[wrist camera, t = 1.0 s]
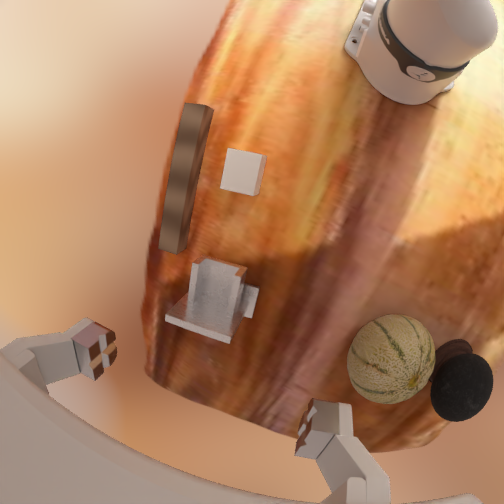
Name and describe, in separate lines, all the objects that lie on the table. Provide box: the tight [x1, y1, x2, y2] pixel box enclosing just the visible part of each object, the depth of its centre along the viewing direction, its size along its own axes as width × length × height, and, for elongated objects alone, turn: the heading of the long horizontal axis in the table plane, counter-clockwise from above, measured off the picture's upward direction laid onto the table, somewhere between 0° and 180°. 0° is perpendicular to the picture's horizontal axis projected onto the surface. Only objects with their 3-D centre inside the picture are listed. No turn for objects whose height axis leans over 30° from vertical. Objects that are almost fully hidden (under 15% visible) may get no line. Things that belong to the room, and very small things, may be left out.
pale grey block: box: [220, 148, 267, 196], centre depth 40 cm, size 6×5×4 cm
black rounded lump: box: [429, 339, 493, 422], centre depth 36 cm, size 13×13×15 cm
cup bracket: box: [165, 255, 260, 344], centre depth 43 cm, size 10×12×12 cm
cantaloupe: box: [347, 314, 435, 404], centre depth 38 cm, size 15×15×15 cm
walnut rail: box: [158, 103, 214, 255], centre depth 43 cm, size 24×4×4 cm, turn 167°
